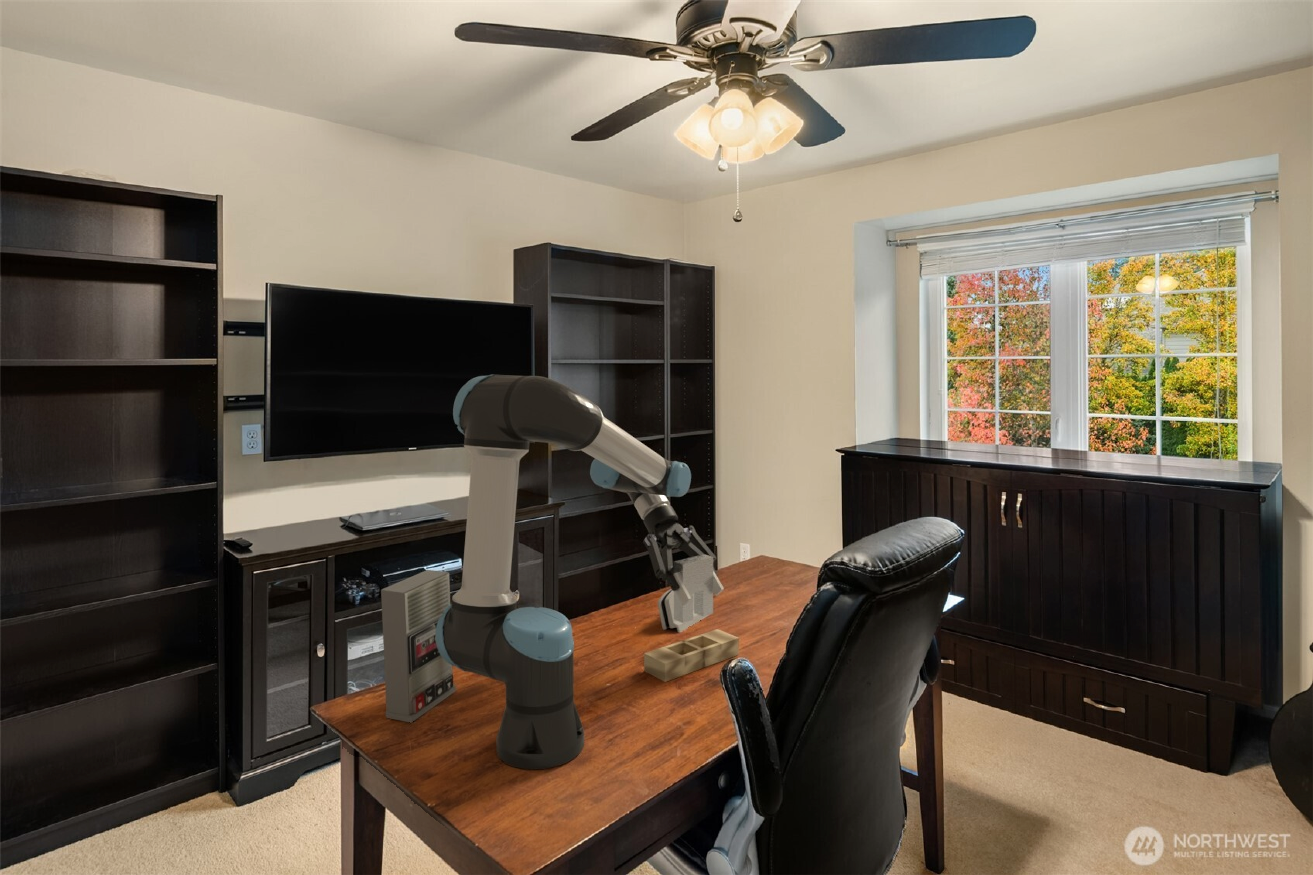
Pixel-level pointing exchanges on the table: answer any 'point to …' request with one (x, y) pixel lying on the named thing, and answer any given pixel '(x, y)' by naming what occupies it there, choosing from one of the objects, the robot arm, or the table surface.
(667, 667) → the beige open box
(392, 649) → the cassette tape recorder
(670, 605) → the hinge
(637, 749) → the table surface
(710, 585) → the grey notched block
